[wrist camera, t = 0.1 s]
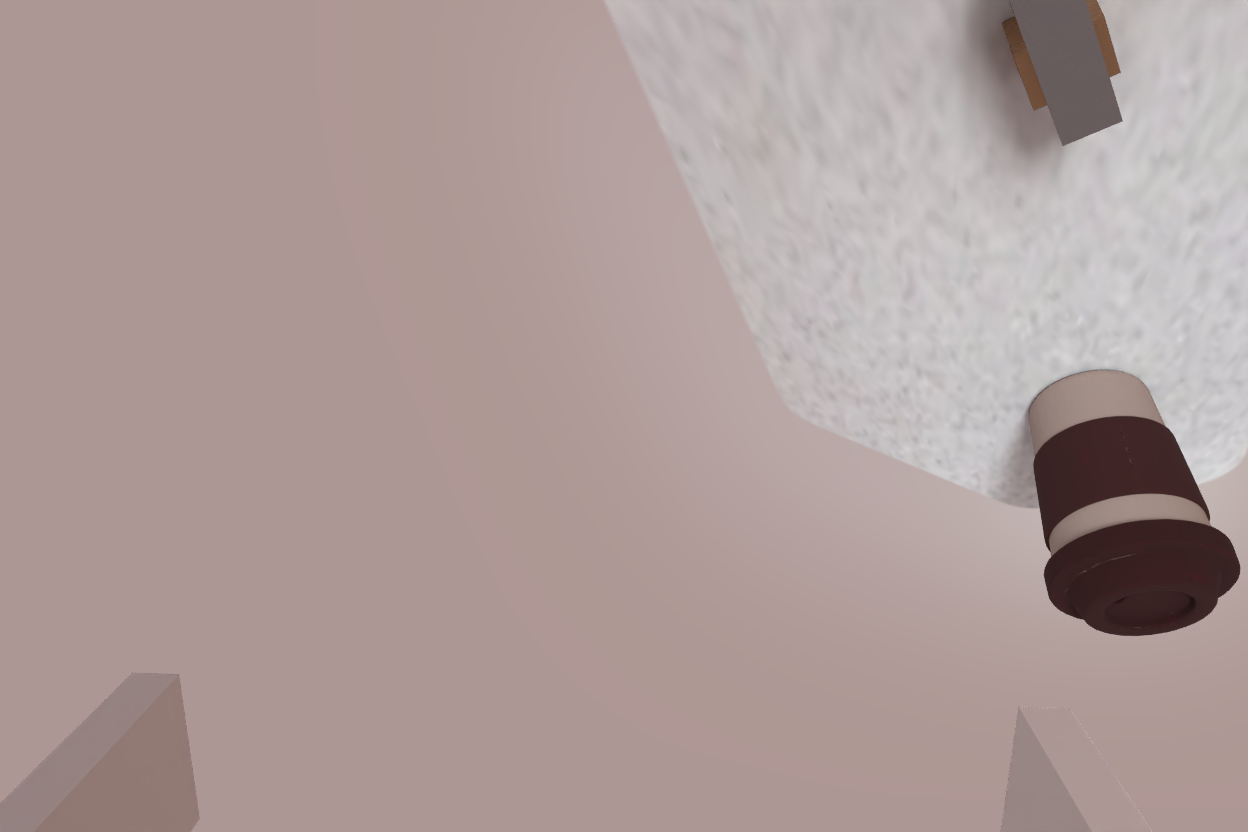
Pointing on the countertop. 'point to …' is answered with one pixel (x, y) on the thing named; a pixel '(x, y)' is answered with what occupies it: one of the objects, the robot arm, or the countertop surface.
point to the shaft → (1066, 63)
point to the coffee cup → (1122, 510)
